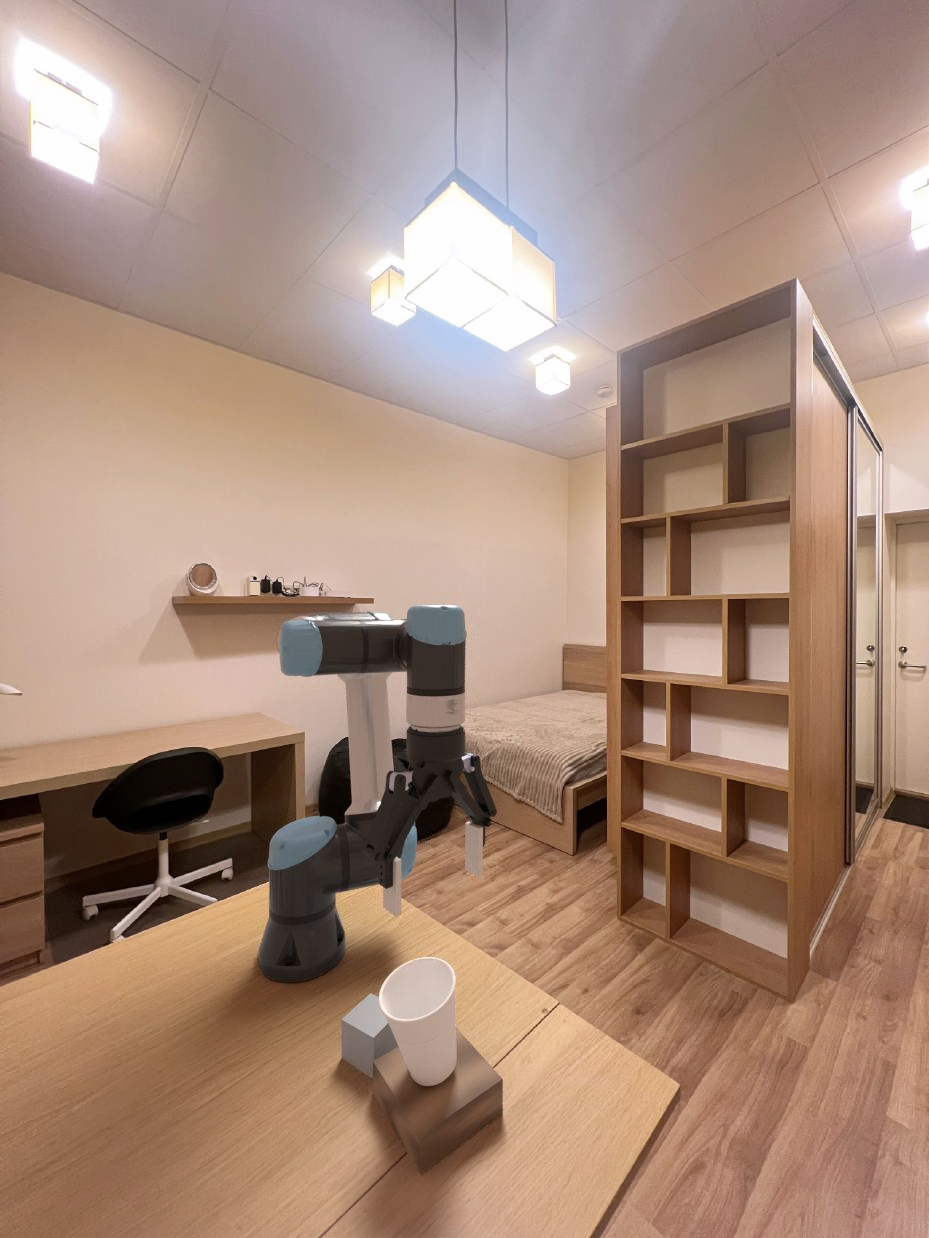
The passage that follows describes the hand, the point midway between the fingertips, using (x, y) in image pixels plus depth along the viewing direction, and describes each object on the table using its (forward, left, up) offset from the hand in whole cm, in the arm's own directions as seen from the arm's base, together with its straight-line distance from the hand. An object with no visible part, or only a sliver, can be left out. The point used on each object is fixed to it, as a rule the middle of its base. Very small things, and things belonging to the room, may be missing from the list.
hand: (435, 890), depth 66 cm
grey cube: (-12, -2, -28) cm, 30 cm away
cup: (0, 0, -22) cm, 22 cm away
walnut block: (0, 0, -28) cm, 28 cm away
